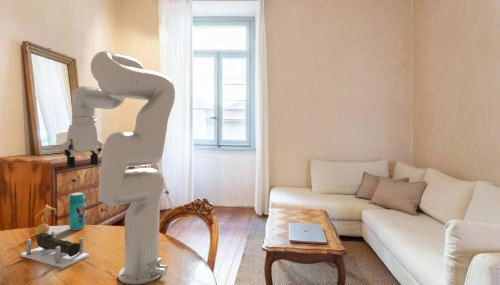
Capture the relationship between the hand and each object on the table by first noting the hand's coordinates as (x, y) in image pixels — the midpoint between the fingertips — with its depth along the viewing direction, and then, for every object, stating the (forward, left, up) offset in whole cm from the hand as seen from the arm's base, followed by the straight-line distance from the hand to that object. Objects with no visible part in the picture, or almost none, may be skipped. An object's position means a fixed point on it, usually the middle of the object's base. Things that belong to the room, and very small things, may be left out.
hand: (82, 166), depth 109 cm
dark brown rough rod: (-6, +15, -26) cm, 31 cm away
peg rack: (-6, +15, -28) cm, 32 cm away
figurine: (+17, +3, -28) cm, 33 cm away
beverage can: (+12, -7, -28) cm, 32 cm away
